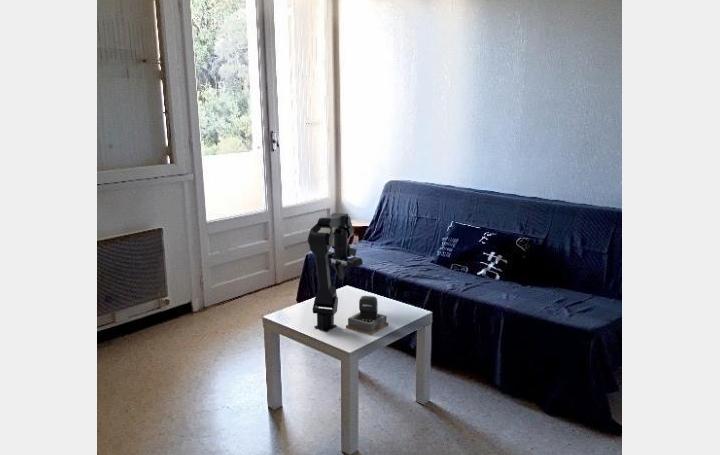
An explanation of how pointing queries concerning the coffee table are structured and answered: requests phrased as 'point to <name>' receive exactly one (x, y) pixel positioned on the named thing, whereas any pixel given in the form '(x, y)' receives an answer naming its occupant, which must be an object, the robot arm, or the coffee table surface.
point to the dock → (367, 324)
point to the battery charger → (368, 308)
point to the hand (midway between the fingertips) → (341, 278)
